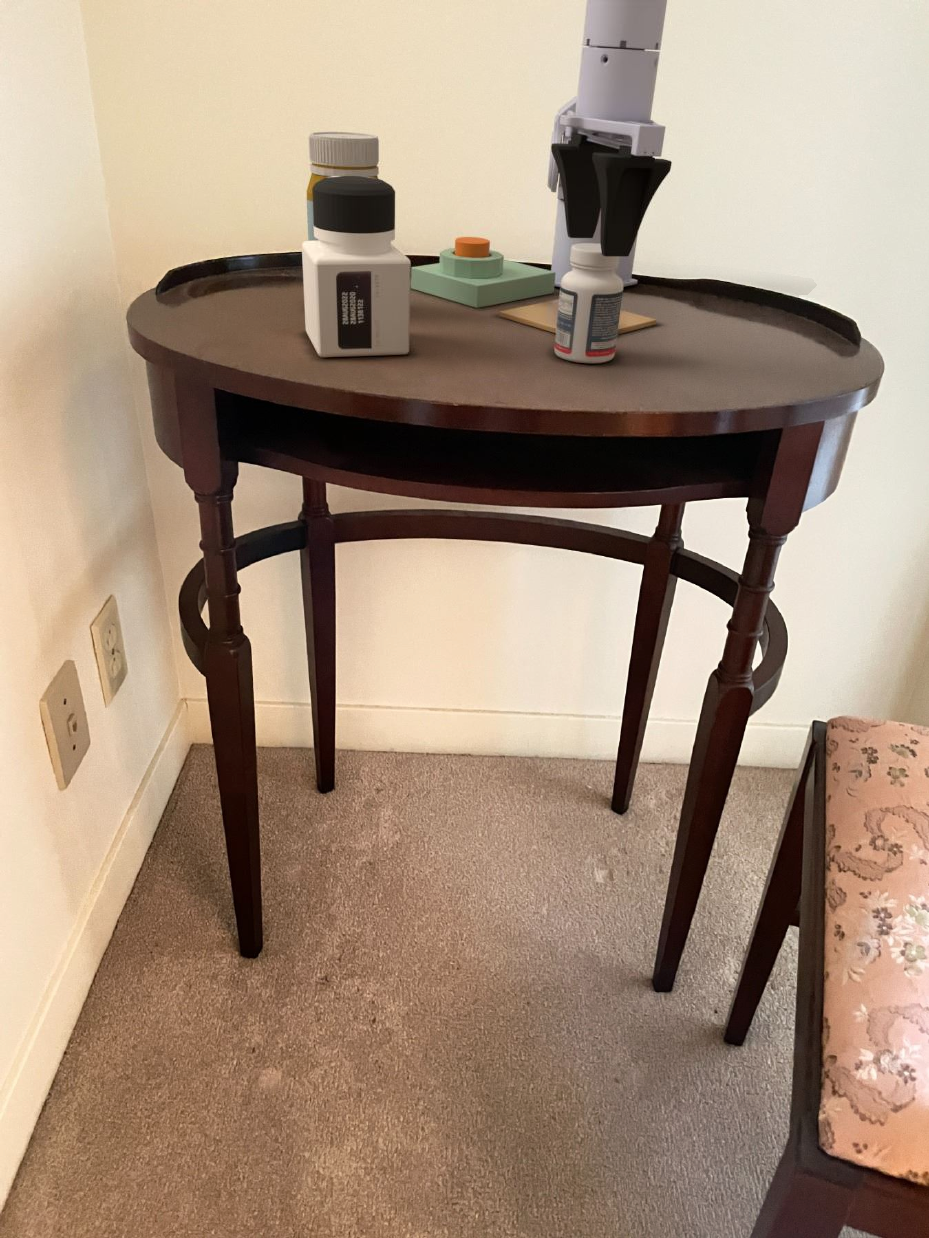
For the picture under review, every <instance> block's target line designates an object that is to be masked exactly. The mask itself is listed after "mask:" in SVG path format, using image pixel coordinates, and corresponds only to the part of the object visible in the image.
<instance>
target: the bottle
mask: <svg viewBox="0 0 929 1238" xmlns="http://www.w3.org/2000/svg"><path fill="white" fill-rule="evenodd" d="M308 134H309V136H308V148H309V149H308V152H309V160H310V164H309V170H310V173H311V174H310V177H309V181H308V184H307V189H306V218H307V241H319V240H318V239H317V238H315V237H314V221H313V195H312V188H313V186H314V185H315V183H316V182H318V181H320V180H322V179H324V178H326V177H333V176H361V177H370V178H376V179H379V177H378V175H379V174H380V171H379V169H380V167H379V166H378V165H379V162H380V156H379V155H380V151H379V150H380V149H379V148H380V142H379V141H380V140H379V136H378V135H375V134H369V133H361V132H346V131H313V132H310V133H308Z"/></svg>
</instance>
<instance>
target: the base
mask: <svg viewBox="0 0 929 1238" xmlns="http://www.w3.org/2000/svg"><path fill="white" fill-rule="evenodd" d="M555 274H556V272H553V271H551V270H549V269H544V268H540V267H537V266H532V265H528V264H524V263H520V262H516V261H512V260H507V259H505V256H504V254H502V253H501V252H499V251H498V250H497V251H496V250H492V249H489V257H485V258H469V257H460V256H456V255H455V247H450V248H445V249H442V250H441V251H440V252H439V262H438V263H431V264H423V265H418V266H412V267H411V269H410V290H415V291H418V292H421V293H425V294H428V295H431V296H434V297H438V298H442V299H445V300H448V301H452V302H455V303H459V304H462V305H465V306H468V307H471V308H476V309H479V308H485V307H489V306H490V307H491V306H494V305H500V304H504V303H511V302H516V301H520V300H526V299H530V298H536V297H541V296H545V295H551V294H554V292H555V286H554V284H555Z"/></svg>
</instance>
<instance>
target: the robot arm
mask: <svg viewBox="0 0 929 1238" xmlns="http://www.w3.org/2000/svg"><path fill="white" fill-rule="evenodd" d="M585 5H586V6H585V15H584V25H583V34H582V44H581V45H582V47H581V55H580V63H579V73H578V75H579V76H578V83H577V84H578V85H577V93H576V96H574V97H573V98H571V99H570V100H569V101H567V102H566V103H565V104H563V105H562V106H561V107H560V108H559V109H558V111H557V114H555V116H554V122H553V131H552V132H551V140H550V149H549V150H550V152H549V161H548V162H549V163H548V174H547V187H548V189H550V192H551V193H557V196H556V199H557V204H556V205H557V206H556V216H555V226H554V236H553V245H552V255H551V267H550V271H553V272H556V274H555V284H554V287H557V288H560V285H561V280H562V278H563V276H564V275H565V274H566V273H568V272H570V271H572V269H573V266H572V265H571V264H570V262H571V261H570V256H571V248H572V245H575V244H580V243H596V244H601V252H602V255H603V256H607V257H619V264H618V268H616V269H615V274H616V275H617V276H619V277H620V278H621V279H622V281H623V288H624V287H630V286H635V285H638V279H635V278H632V276H633V270H634V264H635V263H634V262H635V255H636V250H637V249H636V248H637V243H638V242H637V241H638V235H639V230H640V228H641V225H642V222H643V220H644V218H645V215H646V213H647V210H648V207H649V205H650V203H651V202H652V200H653V198H654V196H655V194H656V192H657V191H658V189H659V187H660V186H661V184H662V183H663V181H664V180H665V179H666V177H667V176H668V175H669V173H670V172H671V168H672V164H673V162H672V161H671V160H669V159H665V158H660V157H662V153H663V148H664V147H663V146H664V140H665V133H666V126H665V125H661V124H658V123H657V122H655V120H653V119H651V117H652V112H653V111H652V110H653V103H654V98H655V92H656V91H655V90H656V82H657V75H658V68H659V62H660V61H659V60H660V53H661V47H662V41H663V33H664V27H665V21H666V20H665V19H666V12H667V6H668V0H586V4H585ZM657 157H658V158H657Z"/></svg>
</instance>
